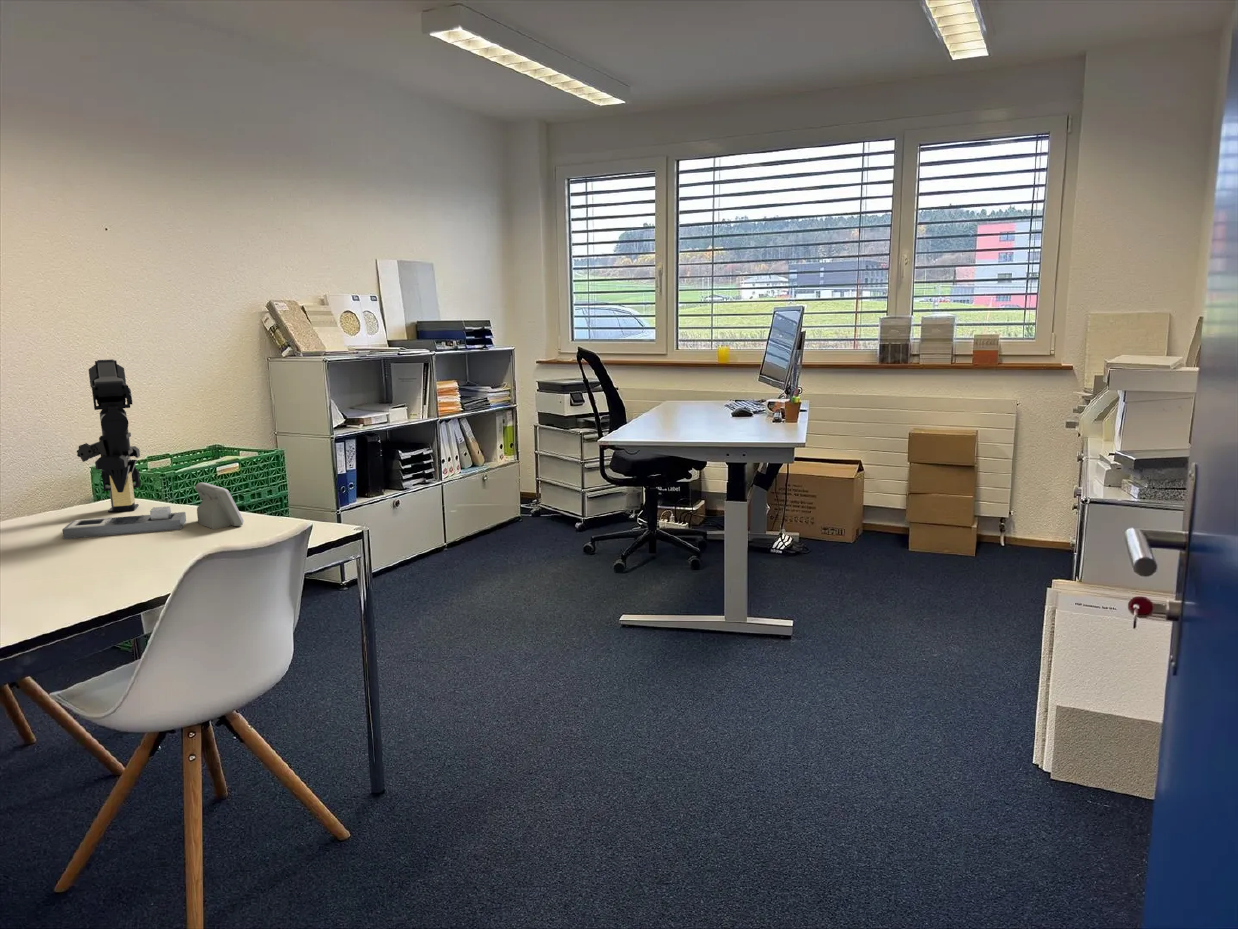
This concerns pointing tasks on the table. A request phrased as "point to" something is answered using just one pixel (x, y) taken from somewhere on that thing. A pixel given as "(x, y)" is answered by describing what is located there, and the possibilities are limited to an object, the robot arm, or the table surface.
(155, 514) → the steel peg
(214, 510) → the digital clock
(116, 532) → the rail
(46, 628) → the table surface
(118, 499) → the brass peg
